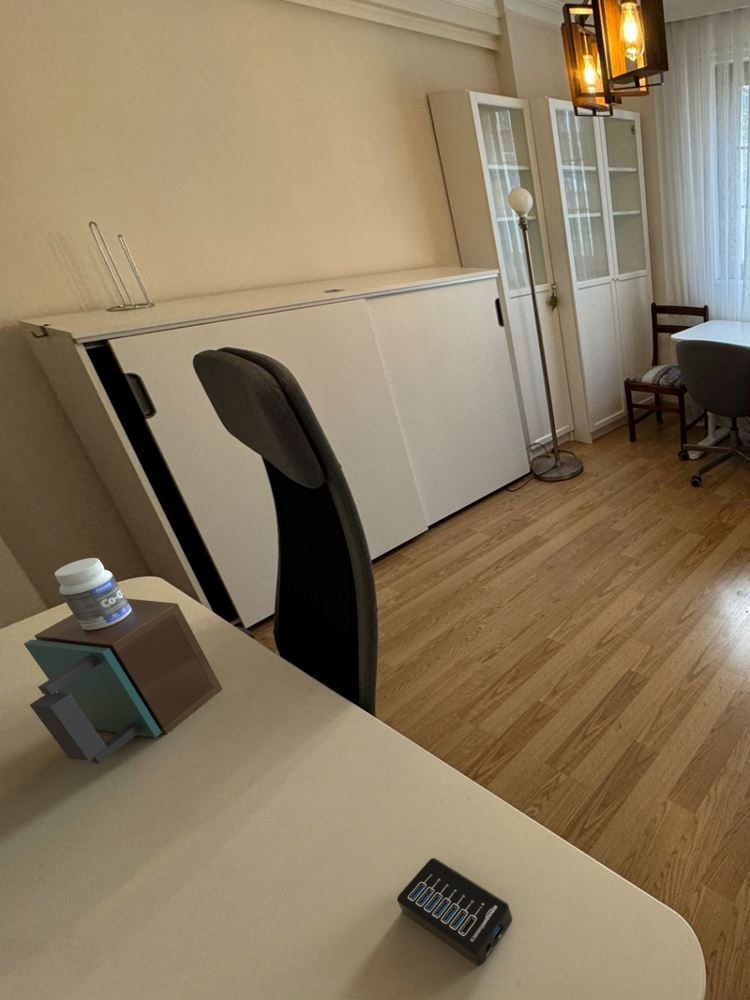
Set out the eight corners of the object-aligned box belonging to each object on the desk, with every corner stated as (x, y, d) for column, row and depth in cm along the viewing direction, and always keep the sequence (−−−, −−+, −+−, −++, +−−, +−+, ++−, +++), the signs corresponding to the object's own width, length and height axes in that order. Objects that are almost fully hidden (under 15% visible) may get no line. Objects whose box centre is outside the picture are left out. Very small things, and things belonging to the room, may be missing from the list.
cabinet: (94, 724, 77) (33, 635, 71) (155, 680, 85) (105, 596, 78) (167, 734, 76) (111, 644, 69) (222, 688, 83) (177, 603, 76)
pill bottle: (121, 625, 72) (89, 572, 69) (73, 635, 71) (39, 581, 67) (140, 603, 76) (111, 552, 73) (95, 612, 75) (64, 560, 71)
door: (26, 767, 71) (-43, 680, 64) (88, 722, 77) (31, 639, 70) (104, 779, 69) (41, 691, 63) (161, 732, 75) (109, 648, 69)
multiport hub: (437, 868, 60) (432, 855, 59) (514, 917, 56) (510, 904, 55) (400, 911, 56) (394, 898, 55) (480, 967, 52) (475, 954, 51)
